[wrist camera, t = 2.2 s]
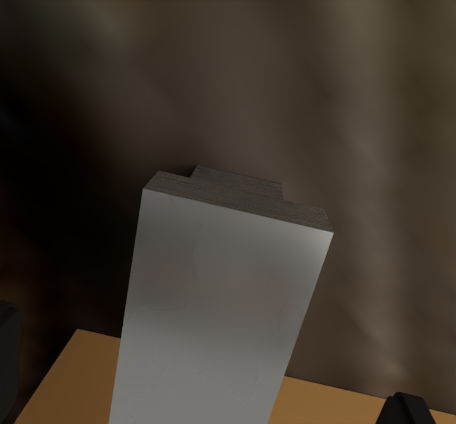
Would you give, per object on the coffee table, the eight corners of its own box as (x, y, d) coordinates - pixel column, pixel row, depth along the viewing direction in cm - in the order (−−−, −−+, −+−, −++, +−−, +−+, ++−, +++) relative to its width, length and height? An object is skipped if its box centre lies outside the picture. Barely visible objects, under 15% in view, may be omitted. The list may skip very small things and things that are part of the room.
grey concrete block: (206, 116, 16) (142, 188, 7) (294, 136, 16) (333, 233, 7) (170, 305, 19) (96, 509, 11) (242, 322, 19) (227, 539, 11)
